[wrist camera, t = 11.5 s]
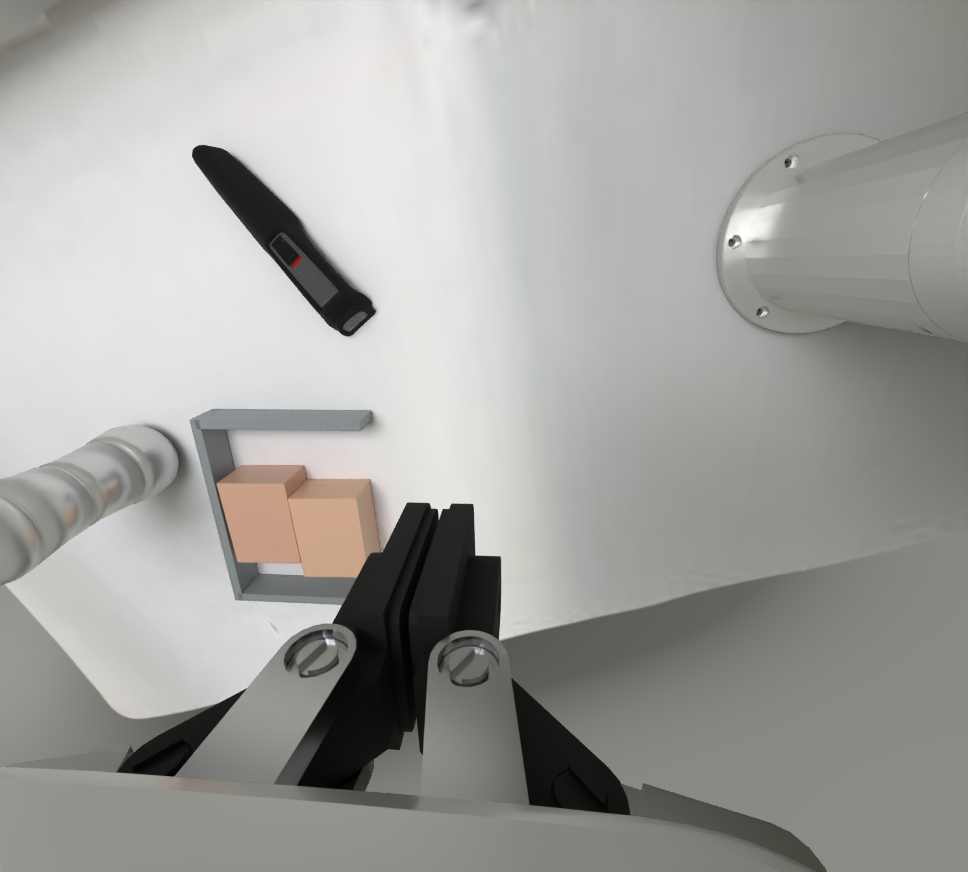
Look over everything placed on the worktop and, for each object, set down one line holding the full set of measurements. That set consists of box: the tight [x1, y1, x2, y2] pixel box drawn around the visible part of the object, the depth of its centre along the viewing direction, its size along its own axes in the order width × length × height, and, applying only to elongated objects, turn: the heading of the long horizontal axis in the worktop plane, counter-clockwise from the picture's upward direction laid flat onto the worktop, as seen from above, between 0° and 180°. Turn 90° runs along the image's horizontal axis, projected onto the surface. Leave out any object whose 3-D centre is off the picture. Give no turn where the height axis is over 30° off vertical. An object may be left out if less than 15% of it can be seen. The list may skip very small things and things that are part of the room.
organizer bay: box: [190, 409, 372, 605], centre depth 42 cm, size 14×18×3 cm
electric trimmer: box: [192, 145, 375, 336], centre depth 34 cm, size 4×16×3 cm, turn 40°
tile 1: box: [216, 465, 307, 564], centre depth 42 cm, size 6×8×4 cm
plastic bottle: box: [0, 425, 179, 585], centre depth 33 cm, size 6×7×20 cm
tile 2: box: [288, 479, 381, 577], centre depth 42 cm, size 6×8×4 cm
